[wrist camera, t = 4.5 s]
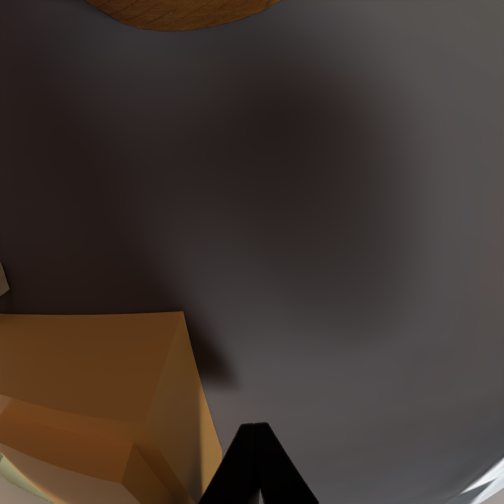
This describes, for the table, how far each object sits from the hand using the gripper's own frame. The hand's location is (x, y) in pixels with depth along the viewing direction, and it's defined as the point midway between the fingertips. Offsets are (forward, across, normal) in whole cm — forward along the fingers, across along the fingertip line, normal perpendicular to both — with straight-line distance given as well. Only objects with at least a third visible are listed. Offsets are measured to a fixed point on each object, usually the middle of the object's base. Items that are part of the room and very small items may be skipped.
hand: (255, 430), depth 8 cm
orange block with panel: (+1, +6, 0) cm, 6 cm away
